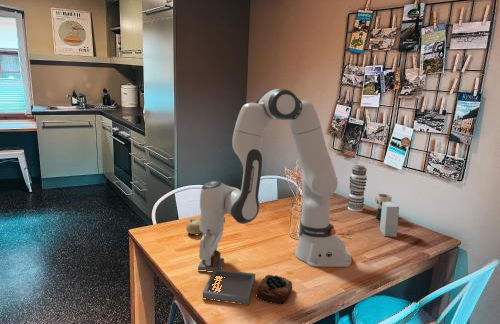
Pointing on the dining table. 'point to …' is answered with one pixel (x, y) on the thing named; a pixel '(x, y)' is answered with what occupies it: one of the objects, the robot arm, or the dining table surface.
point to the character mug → (379, 200)
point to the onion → (193, 227)
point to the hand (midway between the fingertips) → (211, 259)
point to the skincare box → (389, 219)
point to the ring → (214, 259)
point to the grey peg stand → (207, 268)
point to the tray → (231, 286)
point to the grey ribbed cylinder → (357, 188)
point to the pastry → (274, 289)
